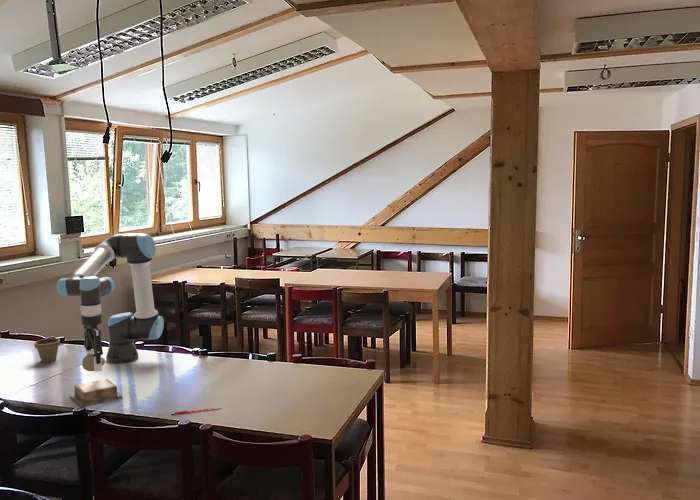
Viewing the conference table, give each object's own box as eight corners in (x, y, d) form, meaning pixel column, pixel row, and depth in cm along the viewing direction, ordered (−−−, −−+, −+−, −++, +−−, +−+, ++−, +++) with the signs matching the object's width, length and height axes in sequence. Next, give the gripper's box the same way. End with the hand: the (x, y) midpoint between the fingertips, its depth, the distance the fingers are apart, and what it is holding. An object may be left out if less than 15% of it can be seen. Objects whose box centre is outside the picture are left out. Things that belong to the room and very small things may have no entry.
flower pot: (36, 365, 291) (34, 345, 290) (35, 359, 301) (33, 340, 300) (62, 361, 297) (60, 341, 296) (60, 356, 307) (59, 337, 306)
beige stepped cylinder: (110, 365, 251) (108, 348, 245) (96, 381, 243) (93, 364, 237) (94, 360, 252) (92, 343, 246) (80, 376, 244) (77, 359, 238)
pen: (171, 415, 227) (171, 412, 227) (222, 408, 233) (221, 406, 233) (171, 416, 226) (171, 413, 226) (222, 409, 232) (222, 406, 232)
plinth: (109, 388, 257) (109, 376, 256) (122, 398, 245) (121, 386, 244) (70, 396, 247) (69, 384, 246) (81, 407, 235) (80, 395, 234)
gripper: (74, 311, 248) (77, 364, 250) (89, 320, 231) (92, 376, 233) (92, 309, 253) (95, 360, 255) (109, 317, 236) (112, 372, 238)
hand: (94, 368), depth 244 cm, fingers closed on beige stepped cylinder, 9 cm apart
